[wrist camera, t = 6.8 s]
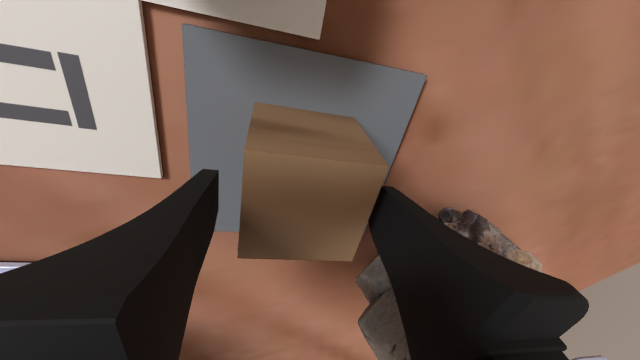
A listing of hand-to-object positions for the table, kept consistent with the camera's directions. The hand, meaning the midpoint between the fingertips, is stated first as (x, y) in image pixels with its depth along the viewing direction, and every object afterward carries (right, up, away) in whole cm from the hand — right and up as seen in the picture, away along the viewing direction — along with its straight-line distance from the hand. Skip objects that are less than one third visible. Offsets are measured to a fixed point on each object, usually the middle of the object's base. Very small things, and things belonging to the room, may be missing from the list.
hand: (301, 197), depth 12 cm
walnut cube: (0, +2, +2) cm, 3 cm away
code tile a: (-11, +5, -1) cm, 12 cm away
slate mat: (0, +2, +3) cm, 4 cm away
